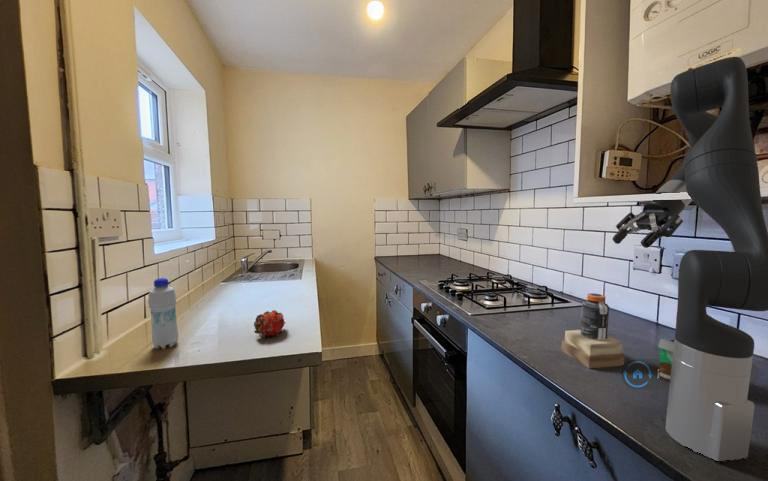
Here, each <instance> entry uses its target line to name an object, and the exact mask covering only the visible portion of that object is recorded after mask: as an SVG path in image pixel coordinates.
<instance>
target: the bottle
mask: <svg viewBox="0 0 768 481" xmlns="http://www.w3.org/2000/svg"><path fill="white" fill-rule="evenodd" d="M153 286H154V287H153V288H152V289H150V290H149V291H148V301H147V304H148V308H149V309H150V320H151V321H150V322H151V341H152V344H153V346H154V348H155V349H157V350H159V349H163V350H165V349H166V346H167V345H168V347H169V348H172V347H173V346H175V345H176V344H178V341H179V329H178V326H177V310H176V305H177V295H176V292H175V288H174V287H172V286H169V280H168V278H166V277H159V278H156V279H155V280H154V281H153Z"/></svg>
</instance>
